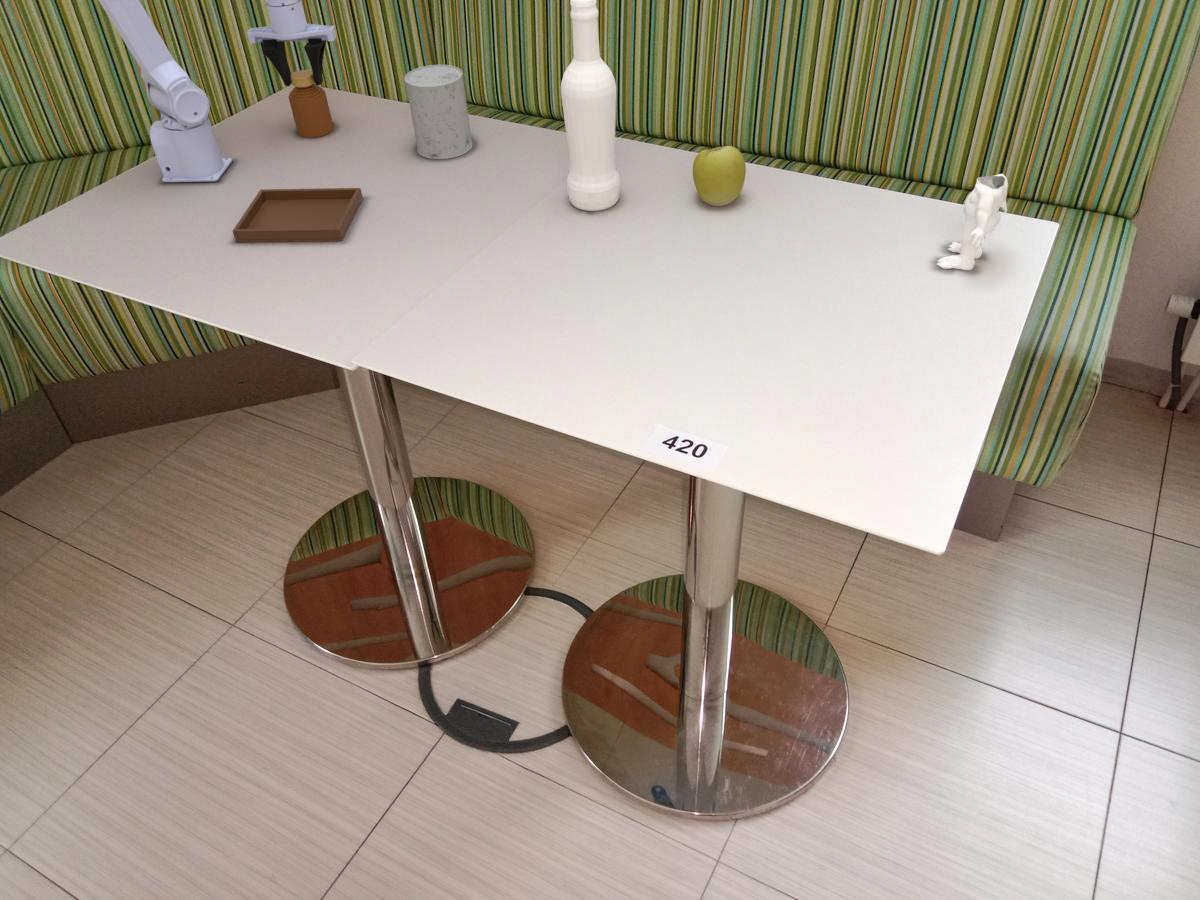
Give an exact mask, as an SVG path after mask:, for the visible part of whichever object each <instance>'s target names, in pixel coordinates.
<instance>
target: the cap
mask: <svg viewBox="0 0 1200 900" xmlns="http://www.w3.org/2000/svg"><path fill="white" fill-rule="evenodd" d="M290 76H291V81H292V83H291V84H292V86H293V87H294V88H295V87H307V86H311V85H313V84H315V81H314V77H313V72H312V69H299V70H296V71H294V72H291V75H290Z"/></svg>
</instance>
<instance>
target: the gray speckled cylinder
mask: <svg viewBox="0 0 1200 900" xmlns="http://www.w3.org/2000/svg"><path fill="white" fill-rule="evenodd" d="M463 76H464V73H463V70H462V69H461V68H460V67H457V66H455V65H451V64H429V65H423V66H420V67H417V68H414V69H411V70H410V71H408V72H407V73H406V74H405V75H404V77H403V79H404V83H405V86H406V87H405V88H406V93H407V98H408V103H409V109H410V116H411V120H412V126H413V133H414V136H415V144H416V152H417V154H418V155H419V156H421V157H423V158H426V159H431V160H449V159H454V158H458V157H460V156H463V155H465V154H466V153H468V152H469V151H470V150H471V149H472V148H473V141H472V134H471V127H470V120H469V112H468V106H467V105H468V104H467V98H466V91H465V84H464V77H463Z"/></svg>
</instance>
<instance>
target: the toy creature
mask: <svg viewBox="0 0 1200 900" xmlns="http://www.w3.org/2000/svg"><path fill="white" fill-rule="evenodd" d="M1008 188H1009V181H1008V178H1007V177H1006V176H1005V174H1003V173H998V174H994V175H985V176H984V175H983V176H979V177H977V178H976V183H975V185H974V188H973V189H972V191H971V192H970V193H969V194H968V195H967V197H966V199H965V201H964V204H963V213H964V215H965V219H964V221H963V224H962V228H961V235H960V236H959V241H960V242H957V241H952V242H951V244H949V245H948V247H949V248H947V250H948V251H950V252H952V253H958V254H953V255H952V254H951V255H949V256H942V257H941V258H940V259H938V260H937V263H936V266H939V267H940V268H941V269H946V270H949V269H956V270H963V271H972V269H974V266H975V263H976V262H975V259H979V258H980V257H981V256H982V254H983V249H984V248H983V247H984V246H985V244H986V235H988V234H991V233H993V231H994V230H995V229H996V227H997V225H999V223H1000V221H1001V213H1000V209H1001V210H1002V211H1004V214H1007V212H1008V205H1007V196H1008Z"/></svg>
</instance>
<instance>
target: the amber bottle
mask: <svg viewBox="0 0 1200 900" xmlns="http://www.w3.org/2000/svg"><path fill="white" fill-rule="evenodd" d="M326 93H327V92H326V90H325V89H324V88H323V87H321V86H320V85H316V84H315V83H314V84H313V85H311V86H307V87H295V86H294V87H293V89H291V91H290V92H289V93H288V102H289V106H290V109H291V113H292V117H293V121H294V125H295V128H296V132H297V134H298V135H299V136H300V137H302V138H308V139H309V138H311V139H313V138H320V137H323V136H326V135H329V134H330V133H332V132H333V131H334V129H335V128H334V127H335V126H334V123H333V118H332V115H331V110H330V106H329V102H328V97H327V94H326Z"/></svg>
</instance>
